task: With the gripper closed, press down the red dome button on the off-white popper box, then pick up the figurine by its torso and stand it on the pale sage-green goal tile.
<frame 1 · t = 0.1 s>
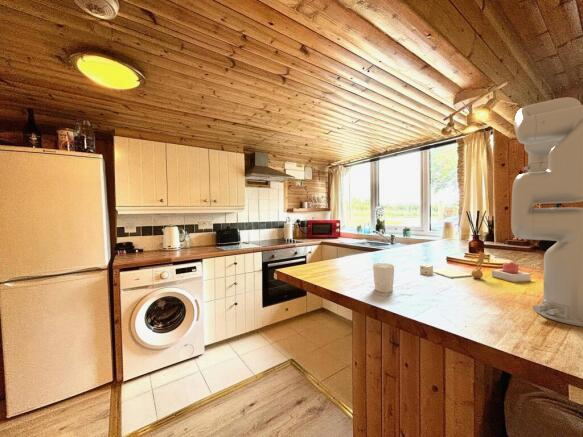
hand: (540, 207, 101), 31 cm above the counter, tool pointing down, fingers open, 9 cm apart
popper box: (510, 278, 104), on the counter
goal tile: (450, 273, 114), on the counter
figurine: (479, 278, 106), on the counter
dome button: (510, 267, 104), point 5 cm above the counter, slide at 0.0 cm
white cup: (383, 290, 95), on the counter
ivory die: (426, 273, 116), on the counter
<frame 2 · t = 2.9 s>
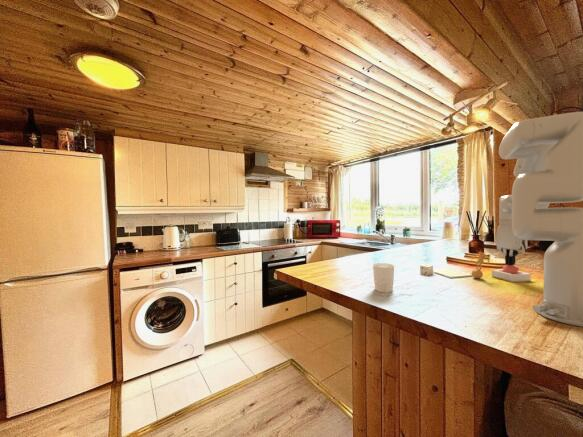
hand: (510, 264, 104), 6 cm above the counter, tool pointing down, fingers closed
dome button: (510, 270, 104), point 4 cm above the counter, slide at 1.3 cm, touching gripper
everything else where it was.
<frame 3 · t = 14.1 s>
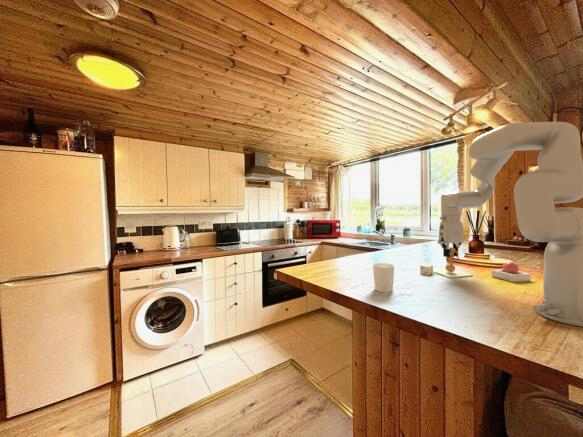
hand: (450, 256, 113), 9 cm above the counter, tool pointing down, fingers open, 4 cm apart
figurine: (452, 271, 114), point 1 cm above the counter, touching goal tile, gripper
dome button: (510, 267, 104), point 5 cm above the counter, slide at 0.2 cm
everything else where it was.
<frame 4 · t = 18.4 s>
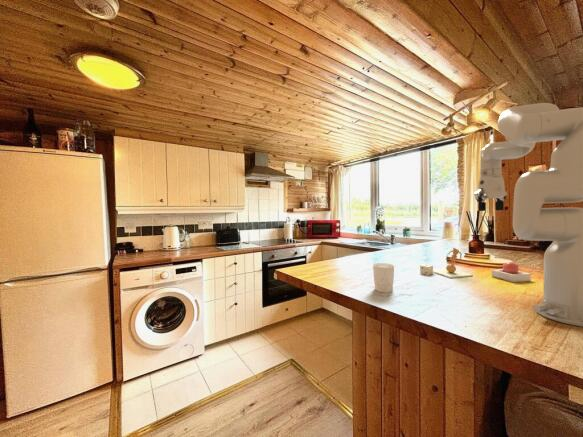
hand: (490, 210, 110), 30 cm above the counter, tool pointing down, fingers open, 9 cm apart
figurine: (452, 272, 114), on the counter, touching goal tile
everything else where it was.
at the end: figurine inside the target area on the goal tile (1.3 cm from its centre), point 0.4 cm above the goal tile's base; figurine tilted 0°; the gripper is holding nothing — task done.
